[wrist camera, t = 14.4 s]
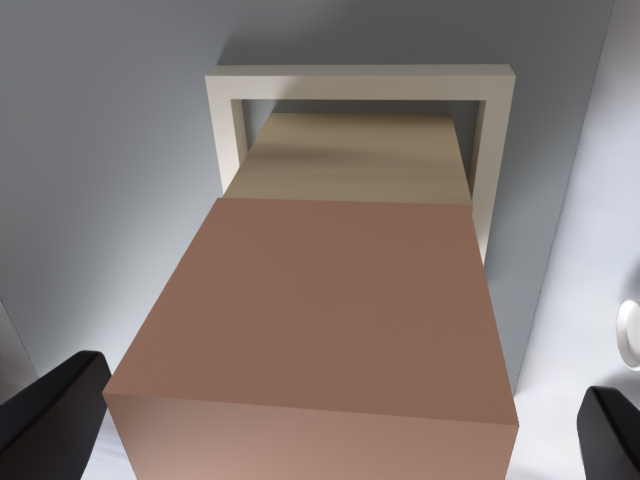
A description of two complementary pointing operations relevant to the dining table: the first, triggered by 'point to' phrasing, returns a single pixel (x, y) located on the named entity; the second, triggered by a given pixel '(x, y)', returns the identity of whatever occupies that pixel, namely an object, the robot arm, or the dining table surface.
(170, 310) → the terracotta block
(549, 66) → the building board
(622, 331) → the binoculars
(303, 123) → the maple block
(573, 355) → the dining table surface
